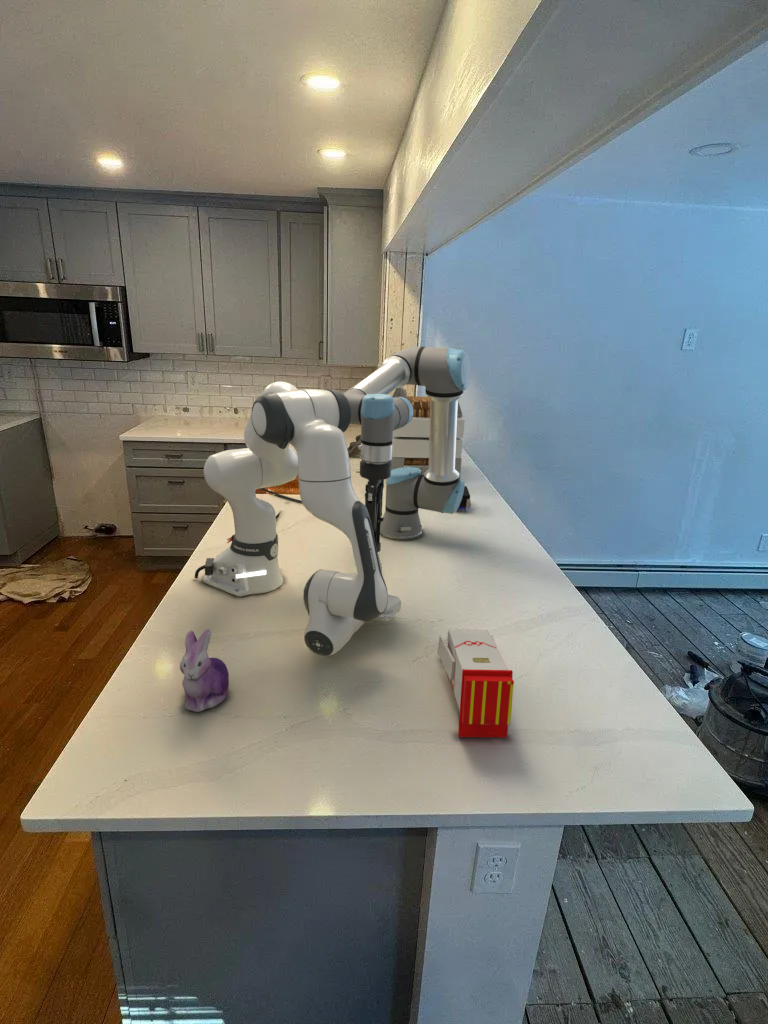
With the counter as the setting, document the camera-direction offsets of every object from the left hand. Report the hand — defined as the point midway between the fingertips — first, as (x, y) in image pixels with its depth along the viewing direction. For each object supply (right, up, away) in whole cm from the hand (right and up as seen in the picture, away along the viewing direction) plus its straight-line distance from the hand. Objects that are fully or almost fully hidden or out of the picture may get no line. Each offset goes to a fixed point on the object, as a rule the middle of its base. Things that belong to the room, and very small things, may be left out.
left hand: (372, 587), depth 148 cm
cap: (0, +11, -5) cm, 12 cm away
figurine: (-32, -18, -35) cm, 51 cm away
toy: (+21, -18, -29) cm, 40 cm away
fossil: (-11, +51, +159) cm, 167 cm away
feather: (-36, +18, +65) cm, 77 cm away
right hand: (0, +10, -4) cm, 11 cm away
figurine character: (+34, +21, +82) cm, 91 cm away
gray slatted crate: (+20, +38, +127) cm, 135 cm away
